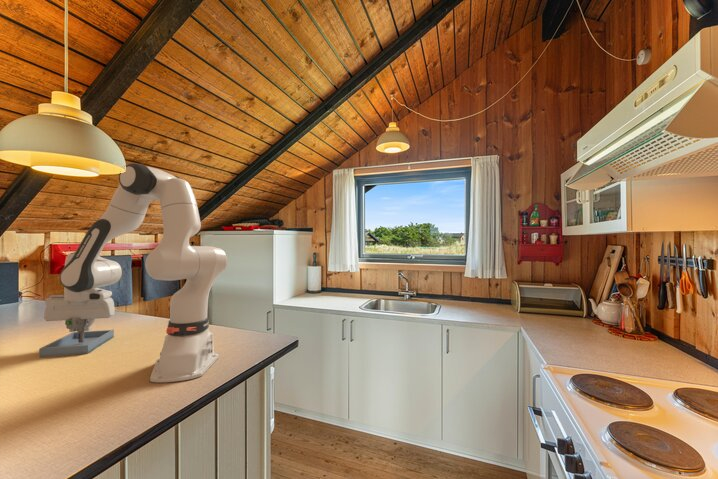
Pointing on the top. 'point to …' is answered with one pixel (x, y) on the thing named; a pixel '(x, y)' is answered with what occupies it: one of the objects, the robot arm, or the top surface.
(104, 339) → the parts tray
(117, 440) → the top surface
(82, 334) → the mechanical component
